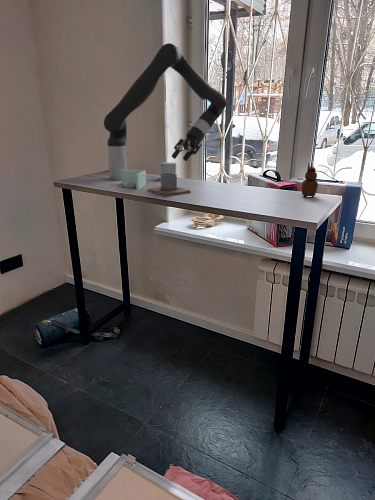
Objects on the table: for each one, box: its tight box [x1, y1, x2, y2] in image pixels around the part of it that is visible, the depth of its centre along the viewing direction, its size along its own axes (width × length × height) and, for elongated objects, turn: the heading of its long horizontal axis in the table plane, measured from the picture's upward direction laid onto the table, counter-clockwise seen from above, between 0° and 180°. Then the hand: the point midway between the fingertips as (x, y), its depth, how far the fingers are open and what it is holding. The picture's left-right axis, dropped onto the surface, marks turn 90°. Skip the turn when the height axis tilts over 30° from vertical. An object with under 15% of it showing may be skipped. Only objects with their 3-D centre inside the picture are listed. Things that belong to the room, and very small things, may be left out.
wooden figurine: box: [300, 162, 319, 197], centre depth 163 cm, size 7×6×15 cm
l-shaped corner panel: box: [121, 169, 147, 191], centre depth 180 cm, size 12×12×8 cm
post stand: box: [147, 174, 191, 197], centre depth 169 cm, size 14×14×8 cm
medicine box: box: [160, 161, 178, 176], centre depth 199 cm, size 8×4×9 cm, turn 84°
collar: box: [160, 173, 178, 191], centre depth 169 cm, size 5×5×7 cm
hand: (178, 158), depth 169 cm, fingers open, 8 cm apart
